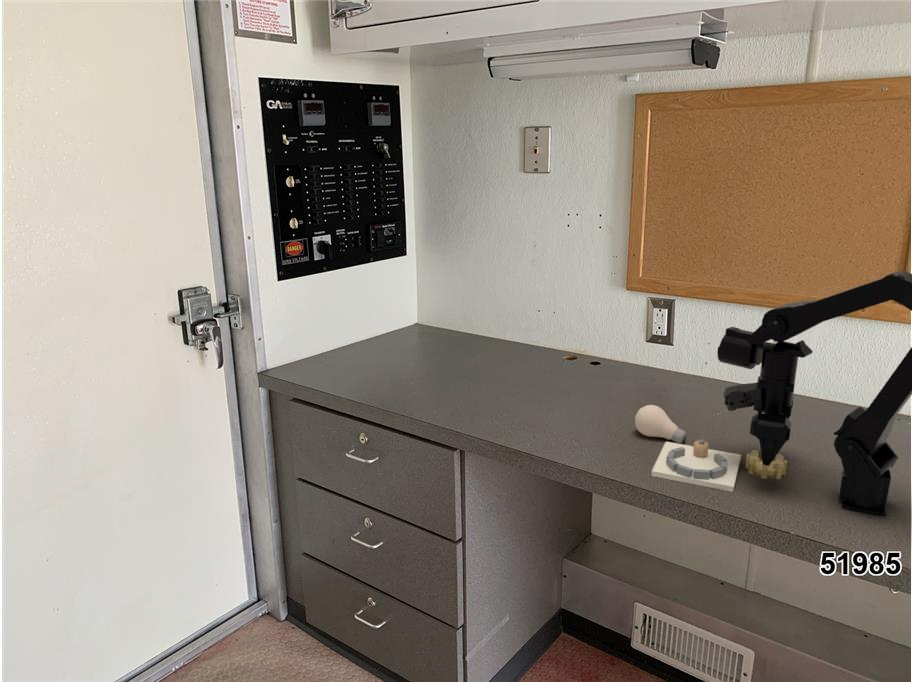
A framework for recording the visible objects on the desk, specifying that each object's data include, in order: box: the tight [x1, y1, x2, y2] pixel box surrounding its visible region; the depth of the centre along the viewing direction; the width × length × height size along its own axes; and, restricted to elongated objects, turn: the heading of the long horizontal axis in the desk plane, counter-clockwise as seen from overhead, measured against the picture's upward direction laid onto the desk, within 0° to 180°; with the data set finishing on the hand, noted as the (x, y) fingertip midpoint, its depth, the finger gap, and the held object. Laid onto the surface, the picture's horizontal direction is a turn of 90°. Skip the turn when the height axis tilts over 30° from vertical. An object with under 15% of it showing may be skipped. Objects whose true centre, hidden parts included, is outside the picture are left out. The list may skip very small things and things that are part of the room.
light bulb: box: [634, 404, 687, 444], centre depth 145 cm, size 7×7×11 cm
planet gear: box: [744, 444, 788, 480], centre depth 130 cm, size 7×7×7 cm
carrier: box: [650, 439, 742, 493], centre depth 132 cm, size 14×14×4 cm
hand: (767, 455), depth 130 cm, fingers open, 8 cm apart
